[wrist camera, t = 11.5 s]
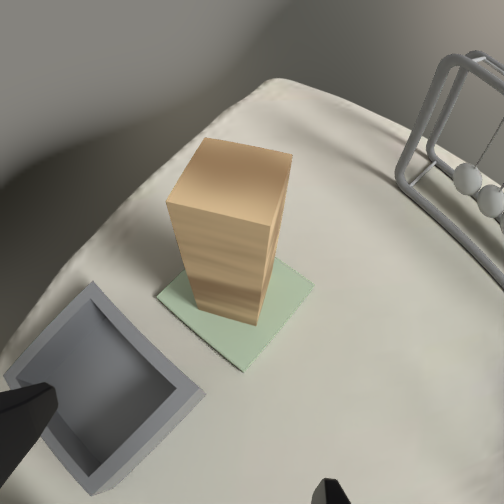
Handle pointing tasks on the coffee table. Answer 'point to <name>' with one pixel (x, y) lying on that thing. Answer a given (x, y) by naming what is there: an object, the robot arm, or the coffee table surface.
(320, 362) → the coffee table surface
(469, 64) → the newton's cradle
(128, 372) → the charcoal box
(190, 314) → the sage mat
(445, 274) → the coffee table surface
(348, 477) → the coffee table surface
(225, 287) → the oak post
